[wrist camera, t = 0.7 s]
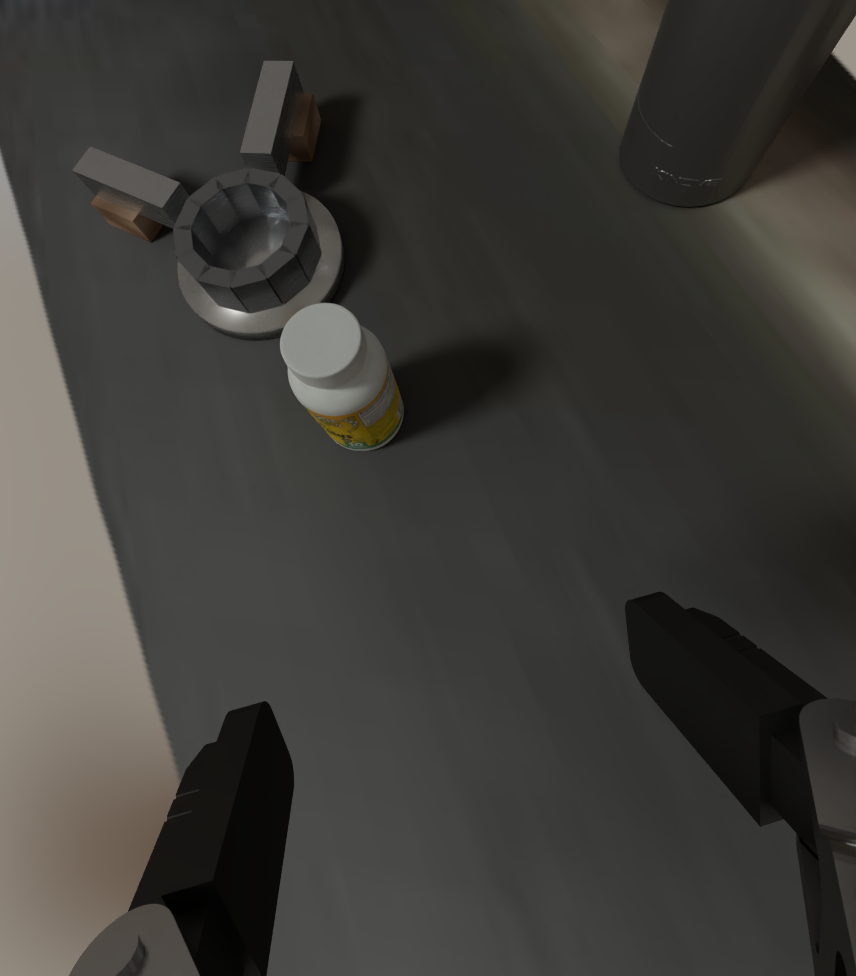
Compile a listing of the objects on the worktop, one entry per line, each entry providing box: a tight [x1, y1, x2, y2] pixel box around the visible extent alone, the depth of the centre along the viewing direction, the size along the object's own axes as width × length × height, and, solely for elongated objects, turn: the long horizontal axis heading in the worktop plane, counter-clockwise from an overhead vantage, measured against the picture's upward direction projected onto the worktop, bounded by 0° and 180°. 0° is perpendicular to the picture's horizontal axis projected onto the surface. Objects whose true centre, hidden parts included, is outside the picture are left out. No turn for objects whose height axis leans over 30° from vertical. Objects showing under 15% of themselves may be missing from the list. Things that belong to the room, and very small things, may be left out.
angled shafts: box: [72, 61, 304, 229], centre depth 35 cm, size 14×14×2 cm
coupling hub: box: [173, 168, 345, 341], centre depth 33 cm, size 12×12×4 cm
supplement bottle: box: [280, 303, 404, 451], centre depth 27 cm, size 5×5×10 cm
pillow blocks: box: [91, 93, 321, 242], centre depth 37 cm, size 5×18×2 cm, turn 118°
